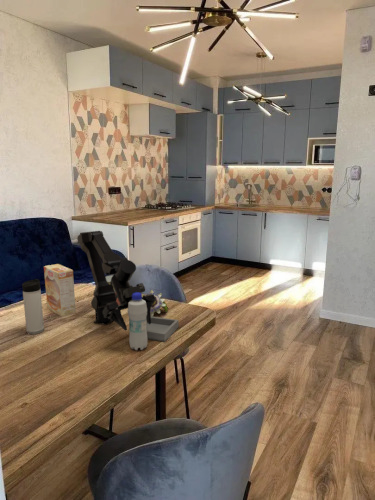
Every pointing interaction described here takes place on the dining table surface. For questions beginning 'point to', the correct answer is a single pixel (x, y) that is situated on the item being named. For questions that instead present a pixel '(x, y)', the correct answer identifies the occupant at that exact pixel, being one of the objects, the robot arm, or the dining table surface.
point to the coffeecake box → (60, 289)
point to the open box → (161, 328)
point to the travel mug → (33, 306)
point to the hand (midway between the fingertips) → (138, 326)
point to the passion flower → (157, 304)
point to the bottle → (137, 322)
